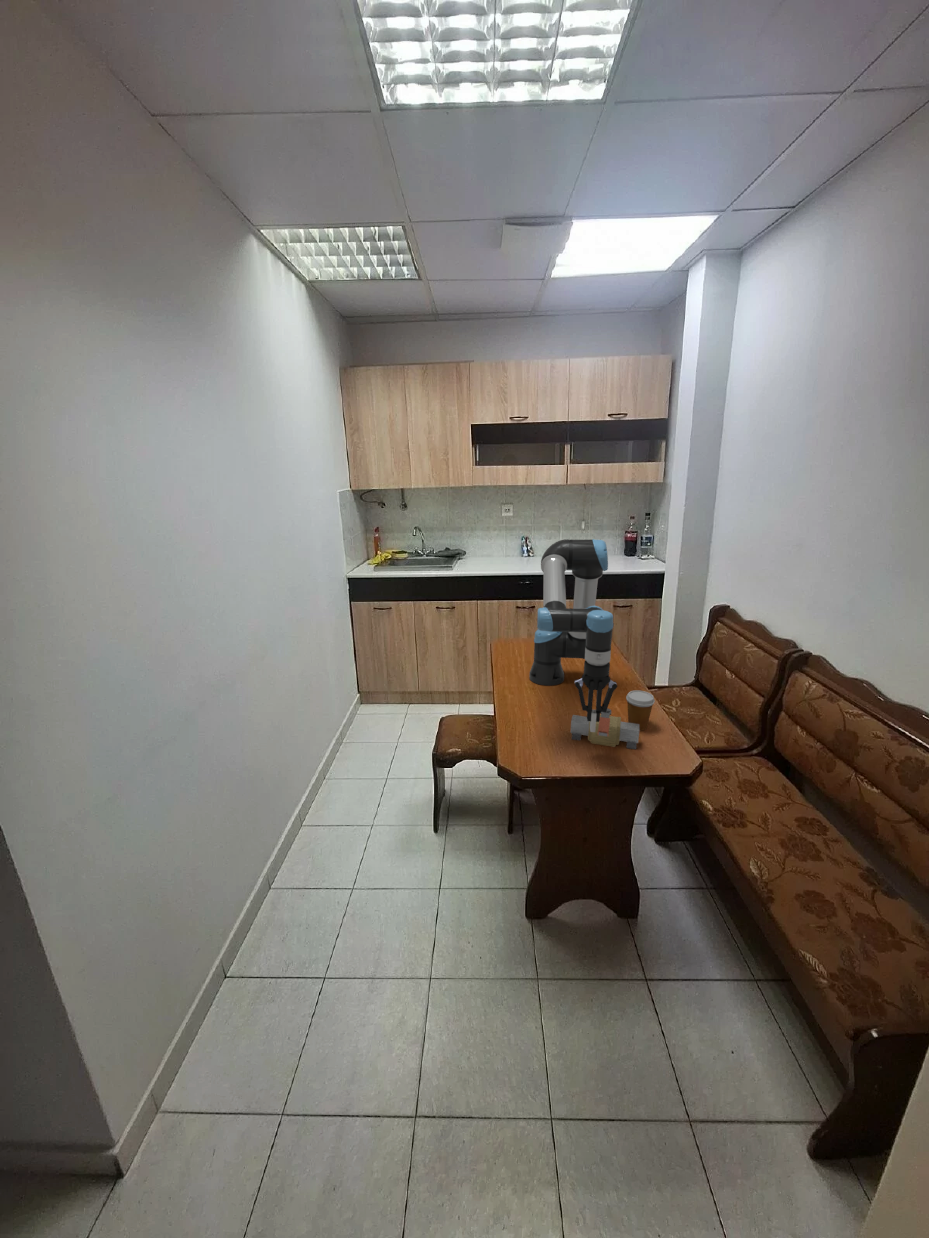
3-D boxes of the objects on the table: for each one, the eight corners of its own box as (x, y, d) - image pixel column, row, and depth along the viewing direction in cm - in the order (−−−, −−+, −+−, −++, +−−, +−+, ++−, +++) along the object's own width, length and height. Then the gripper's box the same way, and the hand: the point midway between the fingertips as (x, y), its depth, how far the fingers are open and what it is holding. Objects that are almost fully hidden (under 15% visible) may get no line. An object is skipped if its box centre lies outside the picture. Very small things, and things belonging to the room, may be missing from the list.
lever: (600, 710, 165) (600, 706, 165) (611, 712, 164) (611, 708, 164) (596, 735, 150) (597, 731, 150) (608, 737, 149) (609, 733, 148)
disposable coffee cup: (648, 735, 168) (651, 704, 164) (620, 728, 173) (623, 698, 169) (654, 723, 176) (657, 693, 172) (627, 716, 181) (630, 687, 177)
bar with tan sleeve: (569, 739, 166) (571, 714, 163) (572, 729, 173) (573, 705, 170) (637, 750, 159) (640, 724, 156) (637, 739, 166) (640, 714, 163)
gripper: (575, 665, 145) (572, 734, 152) (621, 667, 143) (615, 737, 150) (574, 655, 152) (571, 722, 159) (617, 657, 150) (612, 725, 157)
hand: (592, 729), depth 154 cm, fingers closed
